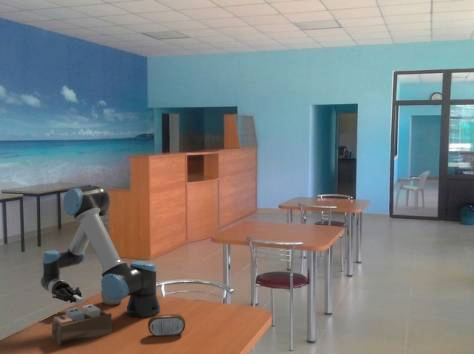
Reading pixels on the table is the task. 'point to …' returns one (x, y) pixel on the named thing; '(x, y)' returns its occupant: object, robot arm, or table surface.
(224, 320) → the table surface
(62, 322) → the tan rectangular block
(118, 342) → the table surface
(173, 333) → the tin
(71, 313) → the pale blue knobbed block
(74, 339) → the wooden compartment box
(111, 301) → the teacup
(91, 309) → the cream dotted block
